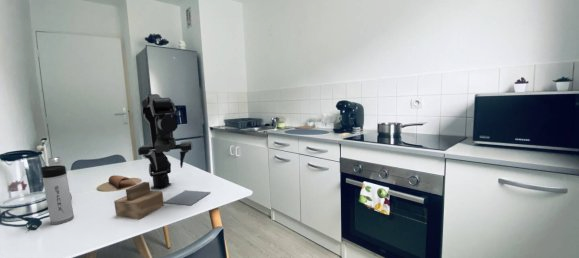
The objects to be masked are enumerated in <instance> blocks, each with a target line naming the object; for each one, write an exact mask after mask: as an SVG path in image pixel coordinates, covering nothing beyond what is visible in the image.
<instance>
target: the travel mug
mask: <svg viewBox="0 0 579 258" xmlns="http://www.w3.org/2000/svg"><path fill="white" fill-rule="evenodd" d="M65 167H66V166H65V165H64V166H61V165H56V166H49V165H45V166H41V167H40V171H41V175H42V181H43V182H42V183H43V189H44V193H45V199H46V204H47V209H48V216H49V220H50V224H51V225H54V224H55V225H61V224H64V222H65V223H67V221H68V222H69V221H71V220H73V219H74V218H75V215H74V210H73V209H74V208H73V203H72V202H73V201H71V196H72V195H71V196H70V193H71V192H70V186H69V185H70V184H69V179H68V172H67V173H66V169H67V167H66V168H65ZM60 223H61V224H60Z"/></svg>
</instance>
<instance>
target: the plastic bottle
mask: <svg viewBox="0 0 579 258" xmlns="http://www.w3.org/2000/svg"><path fill="white" fill-rule="evenodd" d="M61 162H62V160H61V156H55V157H49V158H47V164H48V166H56V165H61V166H65V165H64V164H62V163H61ZM65 168H66V173H67V174H68V170H67V167H66V166H65ZM70 196H71V202H73V196H72V193H71V192H70Z"/></svg>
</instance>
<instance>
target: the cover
mask: <svg viewBox="0 0 579 258" xmlns="http://www.w3.org/2000/svg"><path fill="white" fill-rule="evenodd" d="M125 193H126V195H125V196H123V197H120V198H118V199H115V200H114V201H113V202H114V208H115V209H114V210H115V214H116V215H115V216H116V217H119V218H120V217H121V218H128V219H137V220H141V219H143V218H145V217H147V216H149V215H151V214H152V213H154V212H155V211H157V210H159V209H161V208H163V207H164V206H165V203H164V202H165V201H164V196H163V195H164V194H163V191H161V190H160V191H158V190H151V187H150V182H148V181H144V182H140V183H139V184H137V185H134V186H131V187H127V188H125Z"/></svg>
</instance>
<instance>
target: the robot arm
mask: <svg viewBox="0 0 579 258" xmlns="http://www.w3.org/2000/svg"><path fill="white" fill-rule="evenodd" d="M140 109H141V115H143V119H144V120H145V121H146V122H147V123H148V127H149V135H150V136H149V137H150V144H145V145H144V144H143V145H142V146H140V147H138V149H137V153H138V156H142V157H144V158H147V159H148V160H149V163H148V173H149V176H150V177H151V178H152V183H153V185H152V186H151V187H150V189H158V190H162V189H165V188H167V187H169V186H172V183H171V182H170V178H169V174H171V172H172V169H171V168H172V163H171V162H170V160H169V157H167V156H166V154H165V153H169V152H170V151H172V150H180V152H179V154H180V155H179V157H180V159H179V160H180V163H179V164H180V169H182V168H183V165H184V160H185V156H186V153H189V152H190V151H192V149H193V142H192V141H191V140H189V141H181V142H180V143H179V144H178V143H177V141H176V139H175V137H174V132H175V131H176V130H177V129H178V125H179V124H178V120H177V119H176V118H174V116H175V115H177V108H176V105H175V103H174V101H173V100H172V99H171V97H162V96H160V94H157V93H152V94H146V95H145V99H144V100H142V101H141V107H140Z"/></svg>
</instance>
